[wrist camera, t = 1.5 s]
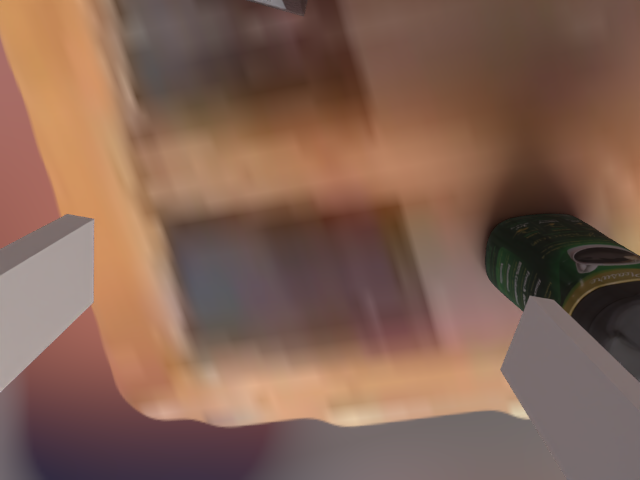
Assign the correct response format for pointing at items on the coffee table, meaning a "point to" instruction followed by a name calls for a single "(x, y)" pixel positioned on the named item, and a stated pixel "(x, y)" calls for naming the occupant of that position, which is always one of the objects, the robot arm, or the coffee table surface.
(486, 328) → the coffee table surface
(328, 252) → the coffee table surface
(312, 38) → the coffee table surface
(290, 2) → the gauge body
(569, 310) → the coffee jar
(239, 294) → the coffee table surface
